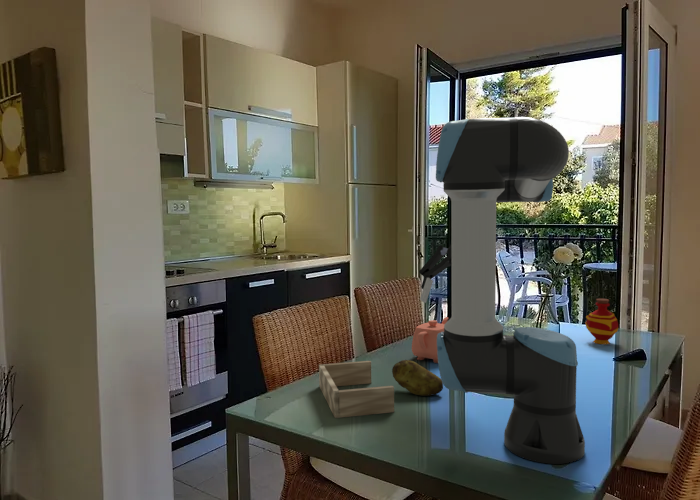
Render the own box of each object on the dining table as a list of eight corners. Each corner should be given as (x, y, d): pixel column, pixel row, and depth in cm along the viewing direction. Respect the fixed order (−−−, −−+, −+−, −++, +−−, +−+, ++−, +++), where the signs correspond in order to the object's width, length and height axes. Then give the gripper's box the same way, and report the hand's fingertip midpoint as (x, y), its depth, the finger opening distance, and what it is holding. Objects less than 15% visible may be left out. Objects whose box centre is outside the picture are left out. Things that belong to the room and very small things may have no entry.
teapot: (437, 368, 160) (437, 328, 159) (402, 362, 167) (401, 324, 166) (464, 352, 177) (464, 316, 176) (431, 347, 184) (430, 312, 182)
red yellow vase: (619, 340, 189) (620, 298, 187) (616, 347, 180) (617, 303, 179) (587, 337, 194) (588, 296, 193) (582, 343, 186) (583, 300, 184)
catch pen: (394, 412, 127) (394, 387, 127) (334, 418, 124) (334, 392, 124) (370, 381, 149) (370, 360, 149) (319, 386, 146) (318, 364, 146)
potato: (427, 403, 133) (427, 371, 132) (387, 391, 142) (387, 361, 141) (446, 394, 139) (446, 363, 138) (407, 383, 148) (406, 354, 147)
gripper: (515, 246, 145) (493, 321, 141) (432, 233, 159) (410, 300, 155) (508, 235, 139) (485, 313, 135) (422, 223, 153) (399, 293, 149)
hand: (445, 306), depth 145 cm, fingers open, 13 cm apart
